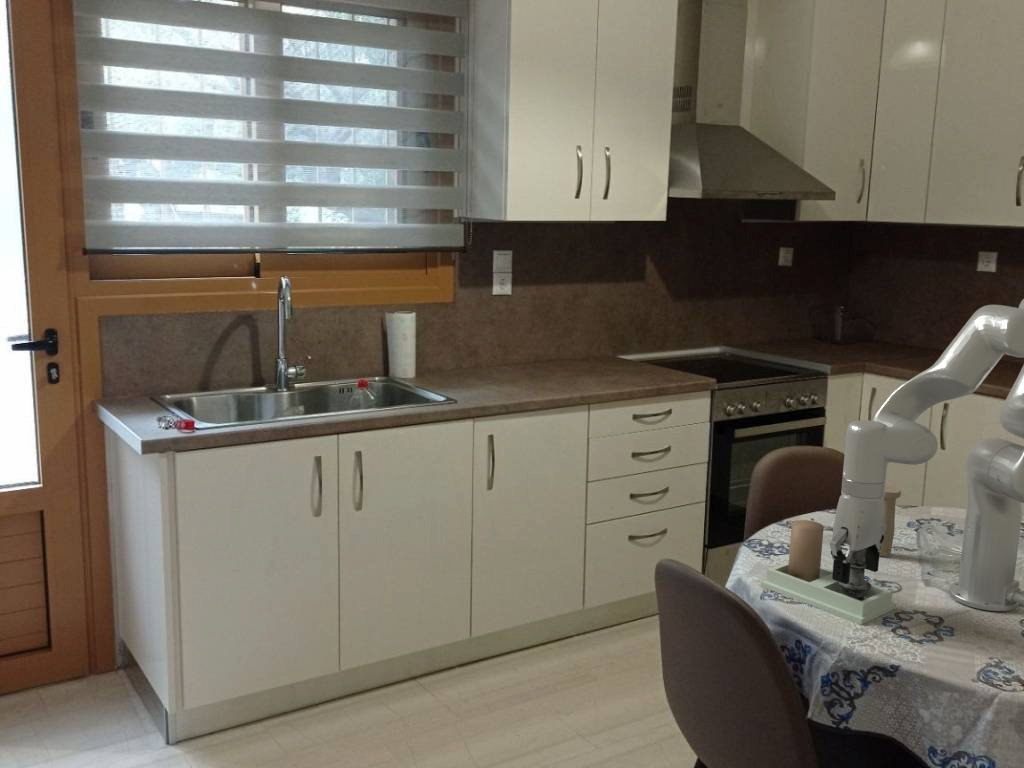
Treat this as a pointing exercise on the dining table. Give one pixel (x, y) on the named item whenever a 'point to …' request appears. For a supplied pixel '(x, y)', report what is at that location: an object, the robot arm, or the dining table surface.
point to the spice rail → (821, 579)
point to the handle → (889, 517)
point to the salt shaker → (856, 577)
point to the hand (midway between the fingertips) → (855, 575)
